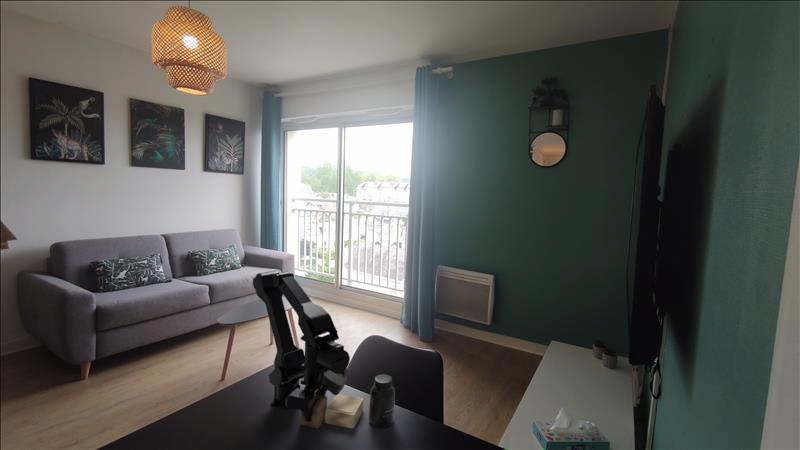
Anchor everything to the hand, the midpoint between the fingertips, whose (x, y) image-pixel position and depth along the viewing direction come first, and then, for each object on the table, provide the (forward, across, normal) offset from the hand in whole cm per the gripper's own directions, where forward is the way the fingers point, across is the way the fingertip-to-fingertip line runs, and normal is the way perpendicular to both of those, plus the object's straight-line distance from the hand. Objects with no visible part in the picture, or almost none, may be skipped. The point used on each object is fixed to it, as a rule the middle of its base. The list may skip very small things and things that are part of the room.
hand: (313, 415), depth 97 cm
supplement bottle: (+2, +6, -17) cm, 18 cm away
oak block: (+2, +4, -7) cm, 9 cm away
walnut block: (+2, 0, 0) cm, 2 cm away
